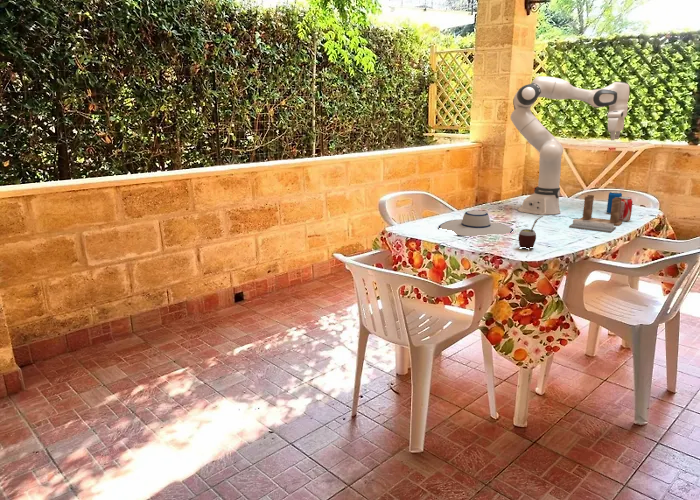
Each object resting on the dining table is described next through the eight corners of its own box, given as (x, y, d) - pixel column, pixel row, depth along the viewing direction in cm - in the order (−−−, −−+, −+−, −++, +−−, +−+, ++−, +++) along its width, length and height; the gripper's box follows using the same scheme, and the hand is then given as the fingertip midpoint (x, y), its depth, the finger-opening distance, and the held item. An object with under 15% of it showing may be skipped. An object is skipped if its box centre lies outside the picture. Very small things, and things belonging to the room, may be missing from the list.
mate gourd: (515, 246, 225) (517, 212, 220) (533, 246, 225) (535, 212, 221) (521, 251, 217) (524, 216, 213) (540, 250, 218) (543, 216, 214)
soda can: (632, 222, 263) (635, 199, 260) (617, 221, 264) (619, 198, 261) (627, 219, 270) (630, 196, 266) (613, 218, 271) (615, 196, 268)
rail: (572, 224, 257) (573, 219, 257) (574, 223, 260) (574, 218, 259) (612, 229, 247) (612, 224, 246) (613, 228, 249) (614, 223, 248)
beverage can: (606, 214, 281) (609, 192, 278) (606, 212, 287) (608, 190, 284) (620, 215, 279) (622, 193, 276) (619, 212, 285) (621, 191, 281)
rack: (578, 221, 267) (581, 196, 264) (582, 218, 273) (585, 194, 270) (618, 226, 256) (621, 200, 252) (622, 223, 262) (625, 197, 258)
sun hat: (423, 229, 262) (423, 211, 260) (472, 219, 282) (473, 202, 279) (478, 243, 233) (479, 223, 231) (529, 231, 253) (530, 212, 251)
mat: (569, 227, 255) (569, 225, 255) (575, 223, 263) (575, 222, 263) (610, 232, 244) (611, 231, 244) (615, 228, 251) (616, 226, 251)
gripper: (615, 112, 286) (612, 138, 290) (606, 114, 271) (603, 140, 275) (628, 112, 282) (625, 138, 286) (619, 113, 267) (616, 141, 271)
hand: (614, 139), depth 280 cm, fingers open, 8 cm apart
